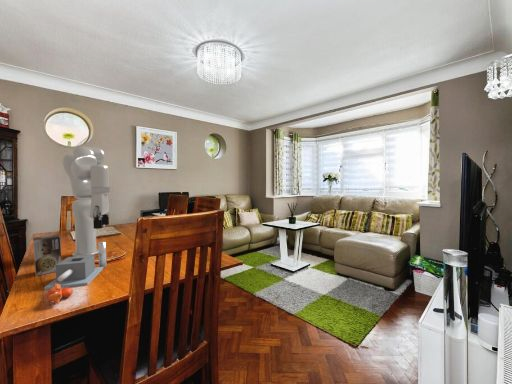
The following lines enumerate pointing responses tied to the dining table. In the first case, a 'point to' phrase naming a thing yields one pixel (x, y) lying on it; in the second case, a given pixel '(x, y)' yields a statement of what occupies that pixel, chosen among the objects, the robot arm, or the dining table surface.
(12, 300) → the dining table surface
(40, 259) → the coffee box
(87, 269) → the grey socket block
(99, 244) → the key peg
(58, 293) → the orange toy bird
